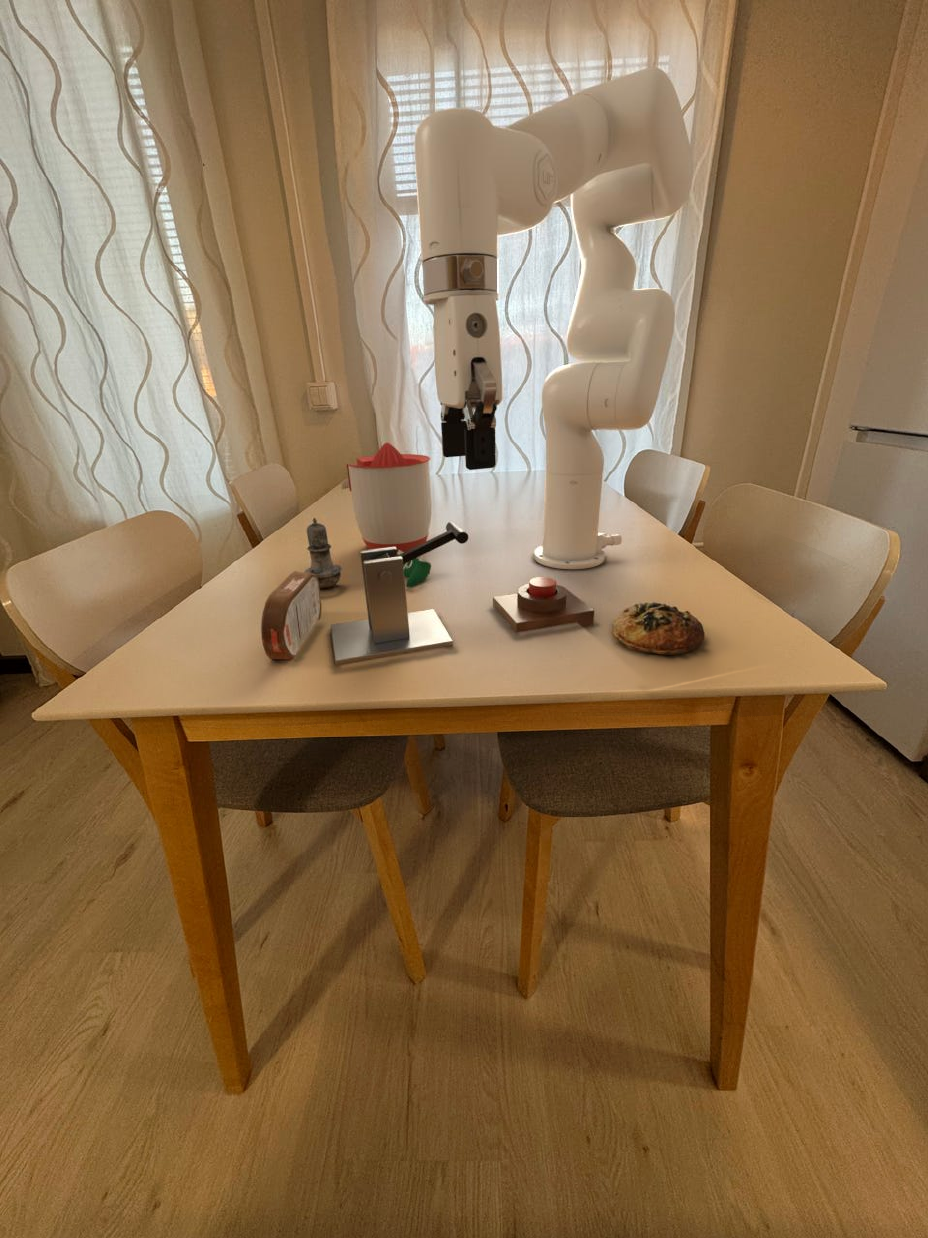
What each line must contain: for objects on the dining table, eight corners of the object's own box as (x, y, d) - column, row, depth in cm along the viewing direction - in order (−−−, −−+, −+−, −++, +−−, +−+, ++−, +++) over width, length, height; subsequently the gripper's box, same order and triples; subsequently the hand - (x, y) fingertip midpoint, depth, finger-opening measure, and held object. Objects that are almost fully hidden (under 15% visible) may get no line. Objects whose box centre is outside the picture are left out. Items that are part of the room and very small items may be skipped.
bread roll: (724, 650, 59) (726, 612, 57) (635, 672, 58) (633, 634, 56) (673, 615, 69) (673, 581, 67) (597, 633, 68) (594, 599, 66)
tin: (307, 618, 72) (296, 562, 68) (328, 617, 71) (319, 561, 68) (266, 673, 58) (250, 607, 54) (293, 673, 58) (279, 607, 54)
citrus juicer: (363, 535, 109) (351, 438, 101) (441, 535, 107) (436, 436, 98) (337, 558, 96) (321, 448, 87) (426, 559, 93) (418, 446, 84)
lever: (459, 533, 63) (452, 516, 62) (471, 543, 59) (464, 525, 58) (373, 575, 62) (364, 559, 61) (378, 589, 58) (369, 572, 57)
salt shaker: (335, 599, 77) (323, 523, 72) (300, 597, 78) (286, 522, 73) (350, 585, 82) (340, 513, 77) (318, 583, 84) (305, 512, 78)
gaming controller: (422, 598, 81) (440, 566, 82) (408, 587, 78) (427, 555, 79) (386, 585, 87) (403, 556, 88) (372, 574, 84) (389, 544, 85)
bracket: (434, 618, 70) (428, 536, 65) (453, 651, 61) (448, 560, 56) (332, 634, 67) (318, 549, 61) (337, 672, 58) (321, 576, 53)
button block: (562, 600, 74) (564, 574, 73) (593, 625, 67) (595, 597, 65) (492, 611, 72) (492, 585, 70) (516, 638, 64) (516, 610, 62)
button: (548, 587, 70) (549, 575, 69) (560, 596, 66) (561, 584, 66) (524, 590, 69) (524, 578, 68) (535, 600, 66) (535, 588, 65)
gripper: (530, 268, 43) (527, 470, 51) (471, 296, 58) (475, 449, 66) (446, 268, 42) (456, 478, 49) (407, 297, 57) (420, 454, 64)
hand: (467, 461), depth 58 cm, fingers open, 9 cm apart
